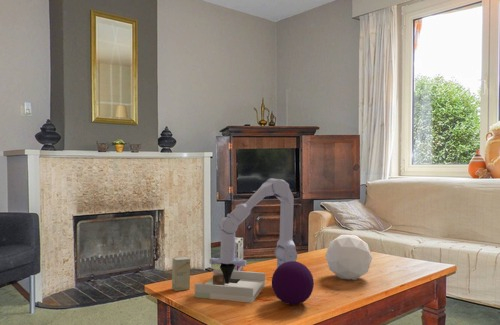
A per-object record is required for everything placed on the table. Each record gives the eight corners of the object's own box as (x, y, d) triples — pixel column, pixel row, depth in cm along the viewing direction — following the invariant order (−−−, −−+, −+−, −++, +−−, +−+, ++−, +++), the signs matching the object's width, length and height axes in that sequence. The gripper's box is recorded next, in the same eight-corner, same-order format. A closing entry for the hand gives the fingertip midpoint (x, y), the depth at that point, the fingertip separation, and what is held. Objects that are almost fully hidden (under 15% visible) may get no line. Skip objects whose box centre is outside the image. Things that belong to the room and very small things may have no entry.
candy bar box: (232, 273, 189) (233, 237, 189) (243, 274, 188) (243, 237, 188) (226, 280, 178) (226, 241, 178) (237, 281, 177) (238, 242, 177)
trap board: (265, 285, 171) (265, 272, 171) (252, 302, 150) (252, 288, 150) (214, 280, 177) (214, 269, 177) (194, 297, 155) (195, 283, 155)
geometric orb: (360, 294, 182) (388, 263, 173) (322, 281, 176) (348, 248, 168) (348, 263, 198) (372, 233, 190) (312, 251, 192) (336, 219, 184)
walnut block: (225, 283, 166) (225, 273, 166) (222, 286, 162) (222, 276, 162) (216, 282, 167) (216, 272, 167) (212, 285, 163) (212, 275, 163)
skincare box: (174, 291, 162) (175, 260, 162) (171, 288, 166) (171, 257, 166) (190, 289, 165) (190, 258, 165) (186, 286, 169) (187, 256, 169)
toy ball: (265, 307, 146) (265, 264, 146) (279, 294, 159) (280, 255, 159) (306, 313, 140) (307, 269, 140) (318, 300, 153) (318, 259, 153)
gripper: (207, 249, 161) (206, 284, 161) (243, 251, 158) (242, 287, 158) (212, 245, 168) (212, 279, 168) (247, 247, 165) (247, 282, 165)
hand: (227, 283), depth 164 cm, fingers closed
